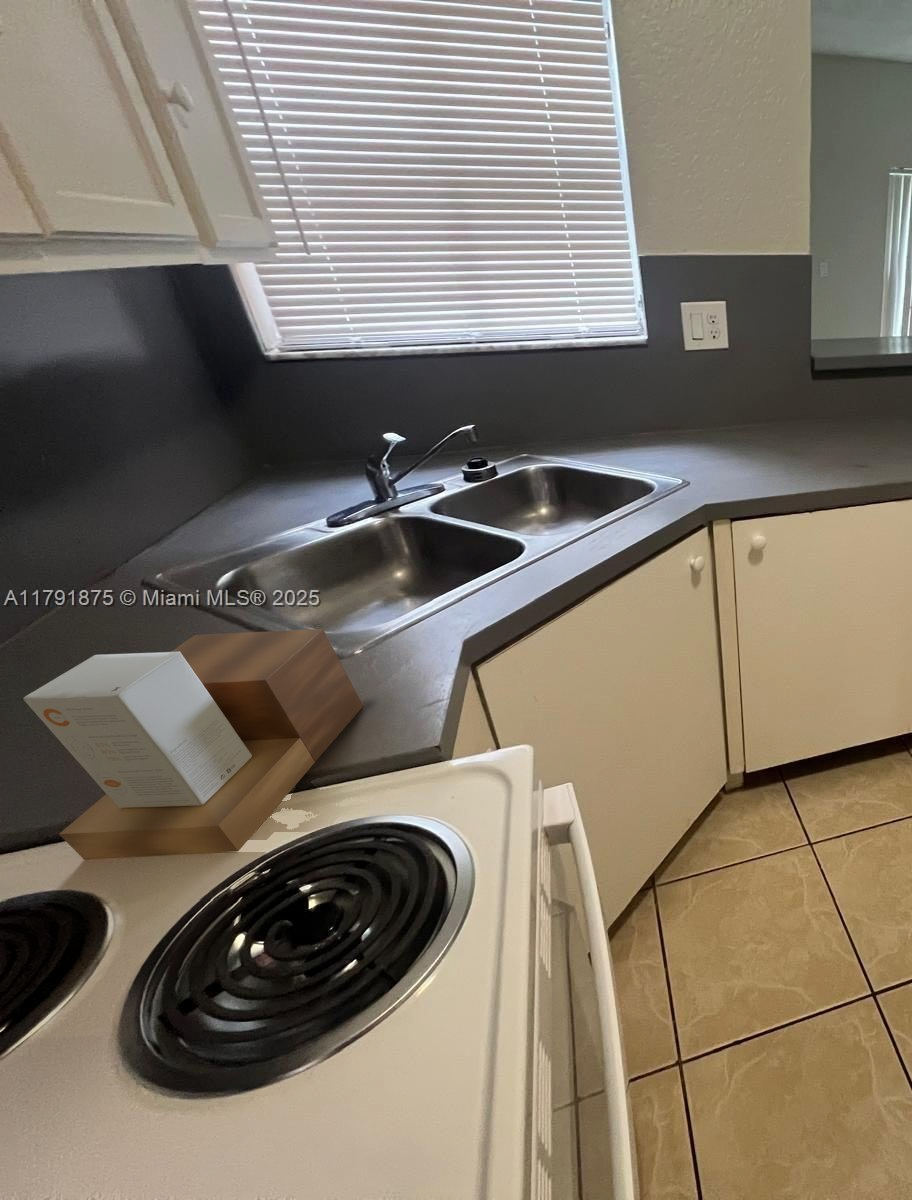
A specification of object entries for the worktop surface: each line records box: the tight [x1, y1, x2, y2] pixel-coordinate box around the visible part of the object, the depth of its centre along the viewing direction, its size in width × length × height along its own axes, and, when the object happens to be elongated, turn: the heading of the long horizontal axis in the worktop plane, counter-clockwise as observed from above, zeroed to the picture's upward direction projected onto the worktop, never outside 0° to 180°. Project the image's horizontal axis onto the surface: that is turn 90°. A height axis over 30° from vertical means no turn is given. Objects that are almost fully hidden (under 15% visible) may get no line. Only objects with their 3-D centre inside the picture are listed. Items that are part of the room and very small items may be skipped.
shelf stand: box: [58, 628, 364, 860], centre depth 62 cm, size 14×20×11 cm
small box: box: [23, 651, 252, 808], centre depth 56 cm, size 8×6×13 cm
